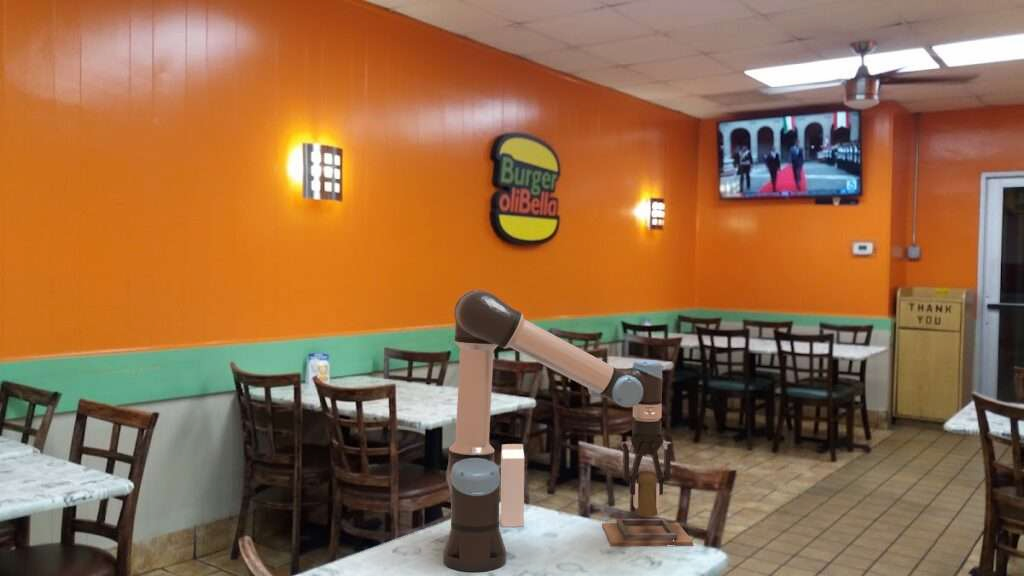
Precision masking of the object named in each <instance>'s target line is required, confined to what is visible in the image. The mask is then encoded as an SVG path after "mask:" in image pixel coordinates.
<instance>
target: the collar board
mask: <svg viewBox="0 0 1024 576" xmlns="http://www.w3.org/2000/svg"><path fill="white" fill-rule="evenodd" d="M601 527H602V530H603V533H604V535H605V536H606V538H607V540H608V543H609V545H610V547H668V546H667V545H675V546H674V547H694V541H693V540H692V539H691V537H690V536H689V535H688V534H687V532H686V531H685V530H684V528H683V527H682V526H681V524H680V522H669V521H668V520H667V519H666V518H616V522H602V523H601ZM673 540H674V541H673Z"/></svg>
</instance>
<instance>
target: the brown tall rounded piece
mask: <svg viewBox="0 0 1024 576" xmlns="http://www.w3.org/2000/svg"><path fill="white" fill-rule="evenodd" d="M636 481H637V483H638V508H635V507H634V514H635V515H637V516H639V517H647V518H648V517H656V516H658V508H656V496H655V488H654V484H655V483H656V481H657V476H656V472H653V471H650V470H649V471H648V470H643V471H642V470H640V471H638V474H637V478H636Z"/></svg>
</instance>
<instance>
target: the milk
mask: <svg viewBox="0 0 1024 576" xmlns="http://www.w3.org/2000/svg"><path fill="white" fill-rule="evenodd" d="M524 520H525V453H524V444H522V443H512V444H511V443H508V444H507V443H506V444H501V452H500V523H501V527H502V528H516V527H517V528H519V527H520V528H521V527H522V528H524V525H525V521H524Z"/></svg>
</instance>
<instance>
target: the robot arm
mask: <svg viewBox="0 0 1024 576" xmlns="http://www.w3.org/2000/svg"><path fill="white" fill-rule="evenodd" d="M453 311H454V313H453V315H454V316H453V317H454V320H455V325H454V343H455V344H456V345H457V347H458V348H459V363H458V365H459V367H458V370H459V371H458V385H457V402H456V404H457V405H456V421H455V422H456V425H455V427H456V428H455V441H454V442H453V443H452V444H451V445H450V446H449V447H448V464H447V469H446V471H445V479H446V484H447V486H448V488H449V493H450V502H451V503H450V530H449V534H448V536H447V540H446V542H445V546H444V549H443V555H442V556H443V557H442V558H443V560H442V561H443V564H444V565H445V566H446V567H448V568H450V569H453V570H457V571H462V572H486V571H487V572H488V571H491V570H495V569H499V568H501V567H502V566H503V565H505V564H506V562H507V549H506V546H505V543H504V539H503V536H502V533H501V530H500V491H501V472H500V467H499V465H498V464H497V463H495V462H494V461H495V449H494V447H493V446H492V445H491V444H490V429H491V428H490V426H491V425H490V424H491V409H492V408H491V405H492V404H491V403H492V391H493V390H492V389H493V384H492V383H493V372H494V371H493V370H494V369H493V367H494V351H495V349H497V347H500V348H502V349H508V348H510V349H513V350H514V351H516V352H519V353H521V354H522V355H524V356H526V357H528V358H530V359H532V360H534V361H536V362H538V363H540V364H541V365H544V366H546V367H547V368H548V369H549V368H550V369H551V370H553V371H554V372H556V373H558V374H561V375H562V376H565V377H566V378H568V379H570V380H572V381H574V382H576V383H578V384H579V385H582V386H583V387H585V388H587V390H588V394H589V395H590V396H591V397H592V398H600V399H602V398H606V399H608V400H610V401H612V402H614V403H615V404H617V405H618V406H620V407H624V408H632V417H633V420H632V435H631V438H630V439H629V440H627V441H621V443H620V446H621V448H622V478H623V480H624V481H625V482H628V483H629V493H630V495H631V496H633V499H632V500H633V501H632V502H633V503H632V504H633V506H632V507H634V509H635V508H638V485H639V484H638V482H637V474H638V473H639V469H640V467H641V466H640V465H641V462H642V459H643V456H645V455H650V456H651V459H652V463H653V467H654V473H655V475H656V483H655V484H654V488H655V496H656V508H657V509H660V496H662V495H663V494H664V484H665V482H667V481H669V482H670V480H671V461H672V459H671V458H672V457H671V456H672V455H671V453H672V450H673V448H674V444H673V443H672V442H671V441H666V440H664V439H663V436H662V420H661V418H662V414H663V413H662V407H663V406H662V404H663V403H662V394H663V393H662V392H663V379H664V378H663V368H662V367H663V366H662V364H661V361H658V360H655V359H654V360H653V359H636V360H634V361H633V364H632V367H629V368H626V367H625V368H621V367H618V368H616V367H614V366H613V365H612V364H609V363H607V362H605V361H603V360H602V359H599V358H598V357H596V356H594V355H592V354H590V353H588V352H586V351H585V350H583V349H581V348H579V347H577V346H576V345H573V344H571V343H570V342H567V341H566V340H564V339H562V338H560V337H558V336H556V335H555V334H553V333H551V332H549V331H547V330H545V329H544V328H542V327H540V326H538V325H536V324H535V323H532V322H530V321H528V320H526V319H525V317H524V313H522V312H520V311H518V310H517V309H515V308H513V307H512V306H510V305H509V304H508V303H506V302H505V301H503V300H502V299H501V298H500V297H499V296H497V295H496V294H494V293H493V292H489V291H488V290H483V289H472V290H469V291H468V292H465V293H464V294H462V295H461V296H460V297H459V299H458V300H457V302H456V304H455V306H454V310H453ZM632 446H633V447H634V450H635V455H634V460H633V463H632V466H631V467H632V468H631V471H630V450H631V448H632ZM661 446H662V449H663V471H662V467H661V464H660V459H659V455H658V451H659V449H660V448H661ZM662 472H663V473H662Z"/></svg>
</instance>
